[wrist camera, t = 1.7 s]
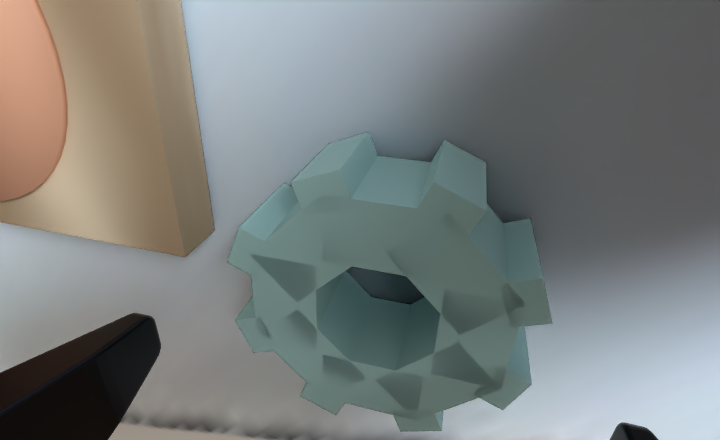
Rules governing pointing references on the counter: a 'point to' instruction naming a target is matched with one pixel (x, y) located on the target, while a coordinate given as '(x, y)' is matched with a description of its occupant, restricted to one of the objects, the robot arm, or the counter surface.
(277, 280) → the loose gear
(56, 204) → the gear board
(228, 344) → the counter surface
